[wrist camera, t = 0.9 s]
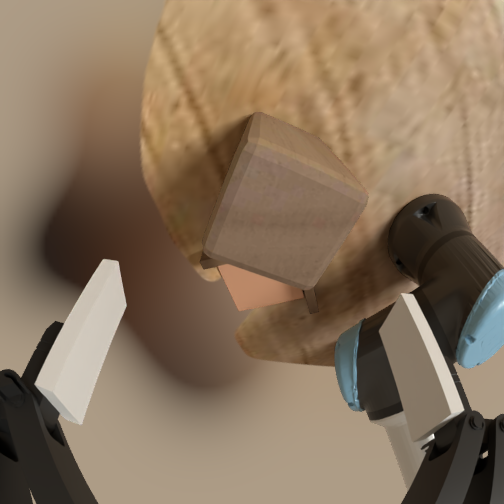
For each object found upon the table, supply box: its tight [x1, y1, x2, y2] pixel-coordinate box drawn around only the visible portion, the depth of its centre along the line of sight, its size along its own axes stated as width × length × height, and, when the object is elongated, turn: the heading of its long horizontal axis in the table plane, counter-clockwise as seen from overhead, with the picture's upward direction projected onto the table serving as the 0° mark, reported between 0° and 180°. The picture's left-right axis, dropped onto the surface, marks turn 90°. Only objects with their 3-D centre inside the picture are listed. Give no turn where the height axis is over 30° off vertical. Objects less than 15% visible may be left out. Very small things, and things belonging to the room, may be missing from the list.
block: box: [202, 112, 369, 290], centre depth 29 cm, size 10×10×20 cm
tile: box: [218, 264, 304, 311], centre depth 48 cm, size 12×12×1 cm
